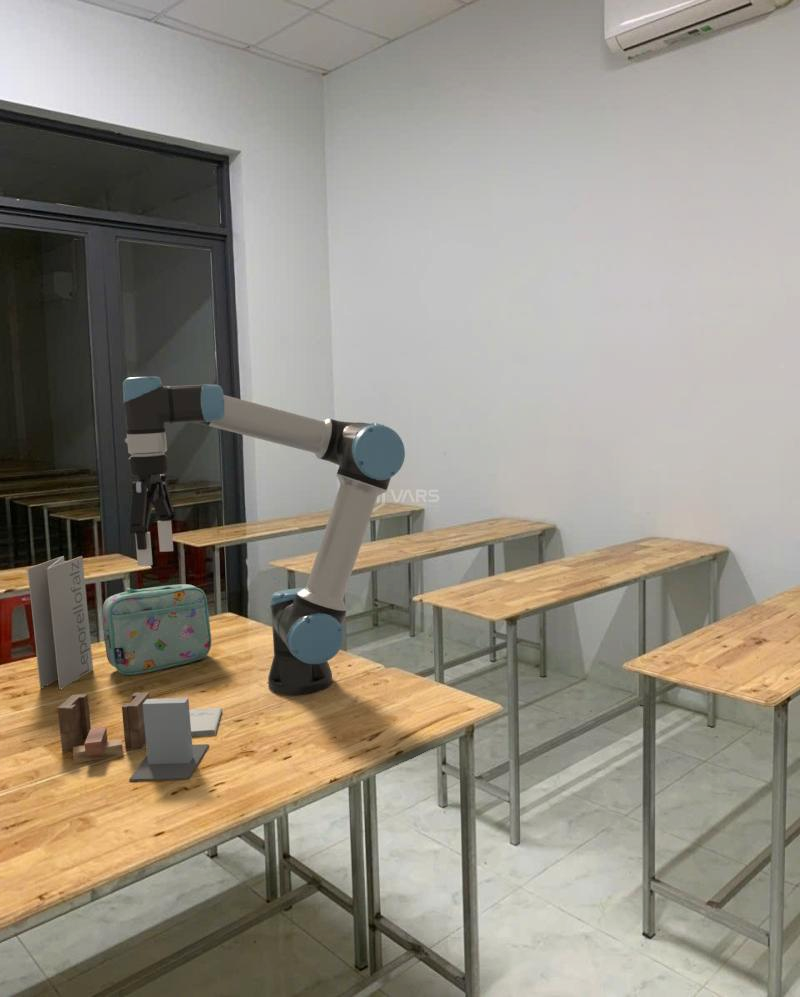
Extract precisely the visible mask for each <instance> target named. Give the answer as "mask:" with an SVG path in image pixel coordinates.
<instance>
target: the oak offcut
mask: <svg viewBox="0 0 800 997" xmlns="http://www.w3.org/2000/svg"><path fill="white" fill-rule="evenodd" d="M123 750H124V749H123V740H122V738H118V739H111V740H107V741H106V744H105V747H104V750H103V753H102V754H97V755H89V756H86V753H85V744H84V745H80V746H77V747H73V751H72V756H73V763H74V764H78V763H79V764H80V763H84V762H89V761H96V760H100V759H106V758H111V757H117V756H121V755H124V751H123Z"/></svg>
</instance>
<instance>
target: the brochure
mask: <svg viewBox="0 0 800 997" xmlns="http://www.w3.org/2000/svg"><path fill="white" fill-rule="evenodd" d="M27 576H28V586H29V596H30V606H31V607H30V608H31V615H32V623H33V626H32V627H33V633H34V643H35V654H36V664H37V674H38V683H39V689H40V688H42V687H44V686H46V685H47V684H49V683H51V682H53V681H54V682H56V681H57V680H56V679H58V690H59V689H61V688H63V687H64V688H66V687H67V685H68V684H69V685H71V684H73V683H74V682H75V680H76V681H77V680H79V679H80V677H81V676H82V677H84V676H85V675H84V674H86V673H87V674H89V673H90V672H92V671H94V665H93V664H94V663H93V655H92V653H93V652H92V643H91V631H90V622H89V611H88V602H87V600H88V599H87V590H86V581H85V569H84V558H83V555H81V556H77V557H75V558H73V559H69V560H67V561H65V556H64V555H63V556H59V557H56V558H53V559H51V560H47V561H45V562H42V563H39V564H35V565H34V566H30V567H28V568H27ZM91 670H92V671H91ZM89 671H90V672H89ZM88 672H89V673H88ZM87 674H86V675H87ZM83 675H84V676H83ZM82 677H81V678H82ZM78 678H79V679H78ZM55 680H56V681H55ZM73 681H74V682H73ZM54 682H53V683H54ZM72 682H73V683H72ZM70 683H71V684H70ZM51 684H52V683H51ZM49 685H50V684H49ZM69 685H68V686H69ZM47 686H48V685H47ZM47 686H46V687H47ZM65 686H66V687H65ZM44 688H45V687H44ZM64 688H63V689H64ZM42 689H43V688H42ZM61 690H62V689H61Z"/></svg>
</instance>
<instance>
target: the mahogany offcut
mask: <svg viewBox="0 0 800 997" xmlns="http://www.w3.org/2000/svg"><path fill="white" fill-rule="evenodd" d="M106 741H108V732H107V726H103V727H95V728H94V727H93V728H92V727H91V729H90V731H89V734H88V736H87V739H85V742H84V745H85V753H86V756H89V755H97V754H102V753H103V750H104V747H105V744H106Z"/></svg>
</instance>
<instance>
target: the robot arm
mask: <svg viewBox="0 0 800 997" xmlns="http://www.w3.org/2000/svg"><path fill="white" fill-rule="evenodd" d="M122 395H123V396H122V397H123V401H122V402H123V412H124V421H125V422H124V423H125V430H126V431H125V433H126V438H125V439H124V443H126V444H127V453H128V454H129V455H131V456H129V458H128V468H129V474H130V475H132V476H138V481H133V482H132V500H131V511H130V522H129V534H134V536H135V550H136V561H137V566H138V567H142V566H143V567H144V566H145V567H146V566H147V567H148V566H153V564H154V563H153V554H152V542H151V541H152V539H151V531H149V525H150V521H151V520H150V519H151V516H152V515H151V514H152V509H153V508H154V511H155V513H156V516H157V518H158V521H156V522H157V533H158V546H159V552H160V553H162V552H174V542H173V541H174V540H173V530H172V529H173V528H172V526H173V525H172V520H173V521H174V520H176V514H175V511H174V507H173V503H172V498H171V493H170V490H169V487H168V481H167V475H166V473H168V472H169V461H168V460H169V459H168V456H167V454H165V453H166V452H167V451H168V445H167V444H168V443H167V435H166V434H167V433H166V424H178V423H179V424H180V423H187V424H188V423H195V424H199V425H203V426H207V427H211V428H216V429H219V430H223V431H227V432H230V433H231V432H232V433H234V434H235V433H236V434H239V435H243V436H247V437H249V438H250V437H251V438H255V439H259V440H263V441H267V442H270V443H275V444H277V445H282V446H285V447H290V448H294V449H297V450H302V451H305V452H309V453H312V454H313V453H314V455H315V456H316V459H318V460H323V461H325V462H329V463H333V464H335V465H337V466H339V467H338V469H337V472H336V477H337V479H338V481H339V488H338V491H337V494H336V496H335V500H334V502H333V505H332V508H331V512H330V515H329V518H328V520H327V522H326V523H327V524H326V526H325V530H324V533H323V534H322V538H321V541H320V543H319V547H318V549H317V553H316V555H315V560H314V562H313V564H312V567H311V571H310V574H309V576H308V579H307V583H306V586H305V587H300V588H297V587H296V588H288V589H284V590H283V589H281V590H279V591H275V592H273V594H272V595H271V596H270V605H269V607H270V611H271V627H272V642H273V658H272V662H271V666H270V668H269V673H268V676H267V679H268V680H267V681H268V682H267V683H268V689H269V690H270V691H271V692H273V693H275V694H277V695H278V694H279V695H283V696H286V695H287V696H302V695H305V696H306V695H310V694H314V693H318V692H321V691H324V690H326V689H327V688H329V687H330V686H331V685H332V684H333V672H332V670H331V667H330V664H329V662H328V661H330V660H332V659H333V658H334V657H335V656H337V654H338V653H339V652H340V650H341V648H342V647H343V646H342V645H343V643H344V637H345V636H344V629H343V627H342V624H343V622H344V619H345V616H346V612H347V609H348V607H347V606H346V604H345V602H344V597H345V593H346V590H347V588H348V585H349V582H350V578H351V577H352V573H353V570H354V567H355V565H356V562H357V558H358V555H359V552H360V549H361V547H362V543H363V540H364V537H365V535H366V532H367V528H368V525H369V522H370V518H371V516H372V513H373V511H374V507H375V505H376V502H377V499H378V497H379V496H381V495H382V494H385V493H386V492H387V490H388V487H389V486H390V485H389V484H390V482H391V479H392V478H393V477H394V476H395V475H396V474H398V472H399V471H400V470H401V469H402V467H403V464H404V462H405V459H406V458H405V456H406V451H405V444H404V442H403V440H402V438H401V436H400V435H399V434H398V433H397V432H396V430H394V429H393V428H390V427H388V426H386V425H384V424H381V423H376V422H373V423H368V422H350V421H342V420H341V421H340V420H337V419H332V418H325V419H323V420H319V419H316V418H312V417H308V416H304V415H299V414H297V413H293V412H290V411H289V412H288V411H285V410H283V409H282V410H281V409H278V408H275V407H269V406H267V405H263V404H259V403H256V402H252V401H248V400H244V399H241V398H237V397H232V396H230V395H225V394H224V390H223V388H222V387H221V385H219V384H208V383H204V384H189V385H187V384H186V385H173V386H172V385H163V383H162V379H161V377H160V376H136V377H135V376H134V377H127V378H125V379H124V380H123V382H122Z"/></svg>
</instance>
